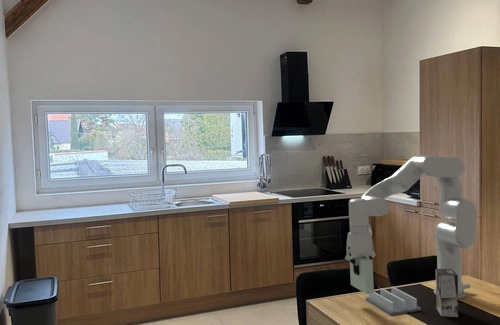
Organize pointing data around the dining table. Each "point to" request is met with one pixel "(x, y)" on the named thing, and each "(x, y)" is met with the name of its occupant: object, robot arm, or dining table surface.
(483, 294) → the dining table surface
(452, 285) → the coffee box
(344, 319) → the dining table surface
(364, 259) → the upright sage green tile
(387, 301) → the dish rack
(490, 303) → the dining table surface
